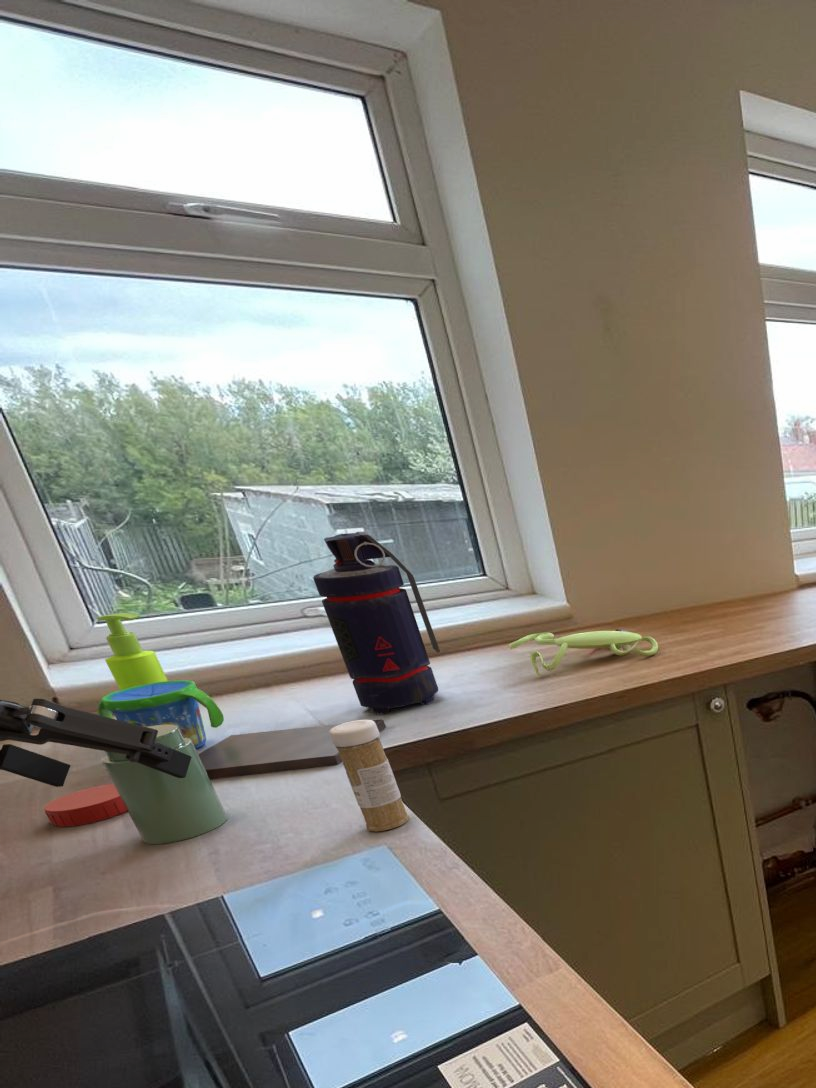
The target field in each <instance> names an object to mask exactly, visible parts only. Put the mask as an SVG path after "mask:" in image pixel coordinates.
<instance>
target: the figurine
mask: <svg viewBox="0 0 816 1088" xmlns="http://www.w3.org/2000/svg"><path fill="white" fill-rule="evenodd" d="M530 641H534V642H535V643H536V644H537V645H541V646H547V645H550V646H551V645H554V646H555V645H556V646H558V647H560V648H559V649H558V652H557V653H556V655H555V656H554V658H553V660H552V661H551V662H550V663H549V664H547V663H546V662H545V660H544V658H543V656H542V654H541V653H540V652H539V651H537V650H535V651H532V652H531V653H530V662H531V664H532V666H533V669H534V671H535V675H536V676H537V677H538V678H541V674H540V671H539V669H538V665H537V658H538V657H539V660H540V662H541V665H542V667H543V669H545V670H547V671H553V670H555V669H556V668H557V667H558V666H559V665H560V663H561V661H562V659H563V657H564V656H565V654H566V652H567V650H568V649H580V650H585V649H586V650H587V649H588V650H589V649H590V650H591V649H592V650H591V651H590V652H588V654H587V656H590V657H591V656H593V655H595V653H597V652H599V651H600V650H602V649H605V648H606V649H609V650H610V652H611V653H612V654H614V655H617V656H624V655H626V654H628V653H629V652H631V651H632V650H633V649H634V652H635V653H636V654H638V655H639V656H641V657H650V656H654V655H655V654H656V653H657V652H658V650H659V644H658V642H657V640H655V639H654V638H653V637H651V636H642V635H641V634H640V633H636V632H631V631H628V630H625V629H620V628H616V629H614V630H597V631H587V632H580V633H573V634H569V635H565V636H561V637H559V638H554V633H552V632H538V633H537V632H536V633H531V634H528V635H526V636H524V637H521V638H520V639H517V640H515V641H513V642H511V643H509V644H508V646H509V650H513V649H515V648H518V647H519V646H522V645H523V644H526V643H528V642H530ZM644 641H645V642H648V643H649V644H651V649H650V650H649V649H648V650H641V649H640V648H638V647H636V646H637V645H638V643H640V642H644ZM633 643H634V644H633ZM630 644H633V645H632V646H631V645H630ZM619 649H622V650H619Z"/></svg>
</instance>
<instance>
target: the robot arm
mask: <svg viewBox="0 0 816 1088" xmlns="http://www.w3.org/2000/svg"><path fill="white" fill-rule="evenodd" d="M34 728H36V729H39V731H38V733H37V734H32V732H33V730H34ZM157 734H158V730H156V729H153V728H148V727H144V726H140V725H136V724H132V723H128V722H124V721H120V720H117V719H116V718H114V719H112V718H108V717H104V716H100V715H98V714H95V713H91V712H87V711H84V710H80V709H75V708H71V707H68V706H64V705H61V704H59V703H55V702H54V701H51V700H47V699H44V698H33V699H32V701H31V703H30V706H24V705H21V704H20V703H18V702H16V701H9V700H4V699H0V742H3V741H15V742H21V743H27V744H33V745H40V746H42V745H45V744H47V743H55V744H62V745H66V746H67V745H68V746H71V747H73V746H74V747H78V748H79V747H80V748H84V749H91V750H97V751H102V752H104V751H109V752H115V753H121V754H127V755H126V758H127V759H129V760H130V761H129V762H137V763H140V764H142V765H145V766H148V767H150V768H153V769H156V770H158V771H161V772H164V773H166V774H169V775H172V776H174V777H177V778H185V777H186V774H187V770H188V767H189V764H190V761H191V756H189V755H187V754H184V753H182V752H179V751H177V750H174V749H172V748H170V747H167V746H165V745H162V744H160V743H157V742H155V740H156V737H157ZM70 768H71V764H69V763H66V762H63V761H60V760H57V759H54V758H51V757H49V756H46V755H44V754H40V753H38V752H35V751H32V750H28V749H25V748H23V747H20V746H17V745H15V744H11V743H8V744H7V743H6V744H2V746H1V749H0V770H2V771H5V772H8V773H11V774H15V775H18V776H20V777H24V778H27V779H29V780H33V781H36V782H39V783H42V784H46V785H49V786H52V787H56V788H60V787H62V788H63V787H64V784H65V782H66V779H67V776H68V773H69V771H70Z"/></svg>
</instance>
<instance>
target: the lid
mask: <svg viewBox="0 0 816 1088" xmlns="http://www.w3.org/2000/svg"><path fill="white" fill-rule="evenodd" d="M43 810H44V813H45V815H46V816H47V818H48V820H49V822H50V824H51V825H52V826H55V827H61V828H62V827H63V828H65V827H76V826H81V825H87V824H92V823H96V822H100V821H104V820H107V819H110V818H113V817H116V816H119V815H122V814H124V813H127V812H128V811H127V809H126V807H125V805H124V803H123V801H122V799H121V798H120V796H119V794H118V792H117V790H116V788H115V786H114V784H113V783H107V784H102V785H97V786H93V787H89V788H88V787H87V788H84V789H82V790H77V791H74V792H71V793H67V794H65V795H62V796H60V797H58V798H55V799H53V800H52V801H49V802H48V803H47V804H45V805H44V806H43Z"/></svg>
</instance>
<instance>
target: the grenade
mask: <svg viewBox="0 0 816 1088" xmlns="http://www.w3.org/2000/svg"><path fill="white" fill-rule="evenodd" d="M323 541H324V542H325V544H326V546H327V548H328V550H329V551H330V553H331V554H332V555H333V557H334V558H335V559H334V560H333V562H334V564H333V565H332V566H333V568H332V569H329V570H327V571H324V572H320V573H316V574H314V575H313V577H312V579H313V582H314V585H315V587H316V590H317V592H318V595H319V596H320V597H323V598H324V599H322V600H321V603H322V606H323V609H324V611H325V615H326V616H327V619H328V622H329V626H330V628H331V630H332V632H333V635H334V636H333V637H334V638H335V641H336V644H337V646H338V649H339V652H340V654H341V657H342V659H343V662H344V665H345V669H346V671H347V673H348V676H349V679H351V680H352V685H353V688H354V690H355V693H356V697H357V699H358V702H359V705H360V706H362V707H363V708H368V709H371V710H372V712H373V713H374V714H379V715H381V714H388V713H389V712H390V709H392V708H400V707H405V706H409V705H413V704H416V703H421V705H423V706H424V705H425V706H426V705H428V704H431V703H432V702H434V701H435V697H434V695H436V694H437V693H438V692H439V686H438V684H437V680H436V678H435V675H434V672H433V668H432V667H431V666H429V665H431V661H430V659H429V655H428V653H427V649H426V646H425V644H424V639H423V637H422V634H421V631H420V629H419V626H418V622H417V619H416V616H415V613H414V609H413V607H412V604H411V601H410V598H409V594H408V591H407V589H406V588H401V587H402V586H404V584H405V583H404V580H403V577H402V573H401V570H402V571H403V572H404V574H406V576H407V579H408V582H409V585H410V587H411V590H412V593H413V596H414V598H415V602H416V604H417V607H418V609H419V613H420V615H421V618H422V621H423V624H424V626H425V630H426V632H427V636H428V638H429V640H430V643H431V646H432V649H433V650H434V651H435V652H436V653H440V652H441V649H440V647H439V645H438V641H437V639H436V635H435V633H434V630H433V628H432V625H431V622H430V619H429V615H428V613H427V611H426V608H425V605H424V602H423V599H422V597H421V594H420V590H419V588H418V585H417V582H416V579H415V577H414V574H412V572H411V571H410V570H409V569H408V568H407V567H406V566H405V565H404V564H403V563H402V562H401V561H400V560H399V559H398V558H397V557H396V556H395V555H394V554H393V553H392V552H391V551H390V550H388V549H387V548H386V547H385V546H384V545H382V544H381V543H380V542H379V541H377V540H376V539H375V538H374V537H373V536H371V535H370V534H369V533H367V532H366V531H356V532H352V533H340V534H336V535H334V536H328V537H324V539H323ZM386 558H390V559H391V560H393V562H394V563H395V565H394V564H384V563H385V560H386ZM374 559H375V560H376V559H382V560H381V561H380V563H375V562H374V561H373V560H374ZM397 565H398V566H397ZM400 569H401V570H400Z"/></svg>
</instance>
